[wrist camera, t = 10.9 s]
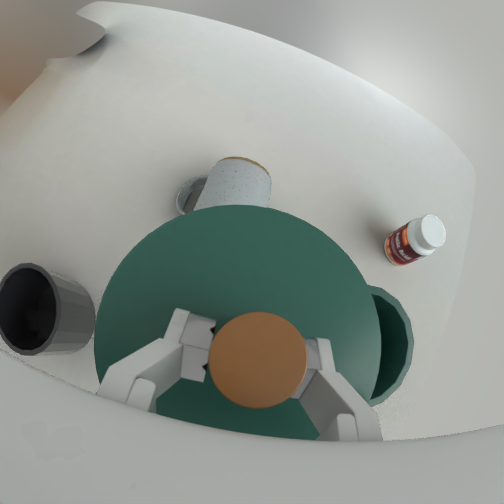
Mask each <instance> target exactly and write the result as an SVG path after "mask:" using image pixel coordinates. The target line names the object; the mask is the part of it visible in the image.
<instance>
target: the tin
mask: <svg viewBox="0 0 504 504" xmlns="http://www.w3.org/2000/svg"><path fill="white" fill-rule="evenodd" d="M367 286H368V288H369V290H370V293H371V295H372V298H373V300H374V303H375V307H376V311H377V314H378V318H379V325H380V333H381V358H380V366H379V372H378V376H377V380H376V384H375V388H374V391H373V393H372V396H371V398H370V401H369V403H368V405H369V406H370V407H372V406H375V405H377V404H380V403H382V402H383V401H384V400H386V399H387V398H388V397H389V396H390V395H391V394H392V393H393V392H394V391H395V390H396V389H397V388H398V387H399V386H400V385H401V383H402V381H403V379H404V377H405V375H406V373H407V371H408V370H409V368H410V365H411V360H412V353H413V346H414V339H413V333H412V328H411V322H410V319H409V317H408V316H407V314H406V312H405V311H404V309H403V307H402V306H401V304H400V302H399V301H398V300H397V299H395V298H394V297H393V296H391V295H390V294H389V293H387V292H386V291H385V290H383V289H382V288H379V287H374V286H370V285H367Z"/></svg>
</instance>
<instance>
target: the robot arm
mask: <svg viewBox="0 0 504 504" xmlns="http://www.w3.org/2000/svg"><path fill="white" fill-rule="evenodd" d="M216 323H217V318H214V317H210V316H206V315H203V314H199V313H195V312H191V311H186V310H183V309H179V308H176V309H175V311H174V313H173V316H172V318H171V321H170V323H169V326H168V328H167V331H166V333H165V336H164V338H163V339H161V338H158V339H157V340H155V341H153V342H151V343H150V344H148V345H146V346H145V347H143V348H141V349H139V350H138V351H136V352H134V353H132V354H131V355H129V356H127V357H125V358H124V359H122V360H120V361H118V362H116V363H115V364H113V365H111V366H109V368H108V370H107V372H106V374H105V376H104V378H103V380H102V382H101V384H100V386H99V389H98V391H97V393H96V394H94V393H91V392H89V391H86V390H84V389H81V388H79V387H76V386H74V385H71V384H69V383H67V382H65V381H62V380H60V379H58V378H56V377H53V376H51V375H49V374H47V373H45V372H43V371H41V370H39V369H36V368H34V367H32V366H30V365H29V364H27V363H25V362H23V361H21V360H19V359H17V358H15V357H13V356H12V355H10V354H8V353H6V352H4V351H3V350H1V349H0V504H504V425H498V426H493V427H488V428H484V429H479V430H474V431H469V432H463V433H457V434H452V435H444V436H436V437H429V438H418V439H407V440H392V441H383V438H382V433H381V429H380V424H379V419H378V415H377V413H376V412H375V411H374V410H373V409H372V408H371V407H370V406H369V405H368V403H367V402H366V401H365V400H364V399H363V398H362V397H361V396H360V395H359V394H358V393H357V391H356V390H355V389H354V388H353V387H352V386H351V385H350V384H349V383H348V382H347V380H346V379H345V378H344V377H343V376H342V375H341V374H340V373H339V372H336V371H335V365H334V360H333V354H332V349H331V344H330V341H329V339H324V338H317V337H310V336H304V335H301V336H302V337H303V339H304V342H305V344H306V348H307V352H308V366H307V371H306V375H305V377H304V380H303V382H302V384H301V385H300V387H299V388H298V389H297V391H296V392H295V393H294V394H293V395H292V396H291V397H290V398H292V399H299V402H300V403H301V405H302V407H303V408H304V410H305V411H306V413H307V415H308V416H309V418H310V419H311V421H312V422H313V424H314V426H315V427H316V429H317V430H318V432H319V434H320V436H319V437H318V438H317V439H316V440H300V439H288V438H278V437H269V436H261V435H254V434H247V433H240V432H234V431H229V430H223V429H218V428H212V427H208V426H203V425H198V424H194V423H189V422H185V421H181V420H177V419H173V418H169V417H165V416H161V415H158V414H156V399H157V398H158V397H159V396H160V395H161V394H163V393H164V392H165V391H166V390H167V389H169V388H170V387H171V386H172V385H173V384H175V383H176V382H177V381H178V380H179V379H180V378H184V379H189V380H193V381H198V382H203V383H204V379H205V374H206V370H207V365H208V357H209V350H210V347H211V344H212V341H213V337H214V333H215V328H216Z"/></svg>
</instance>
